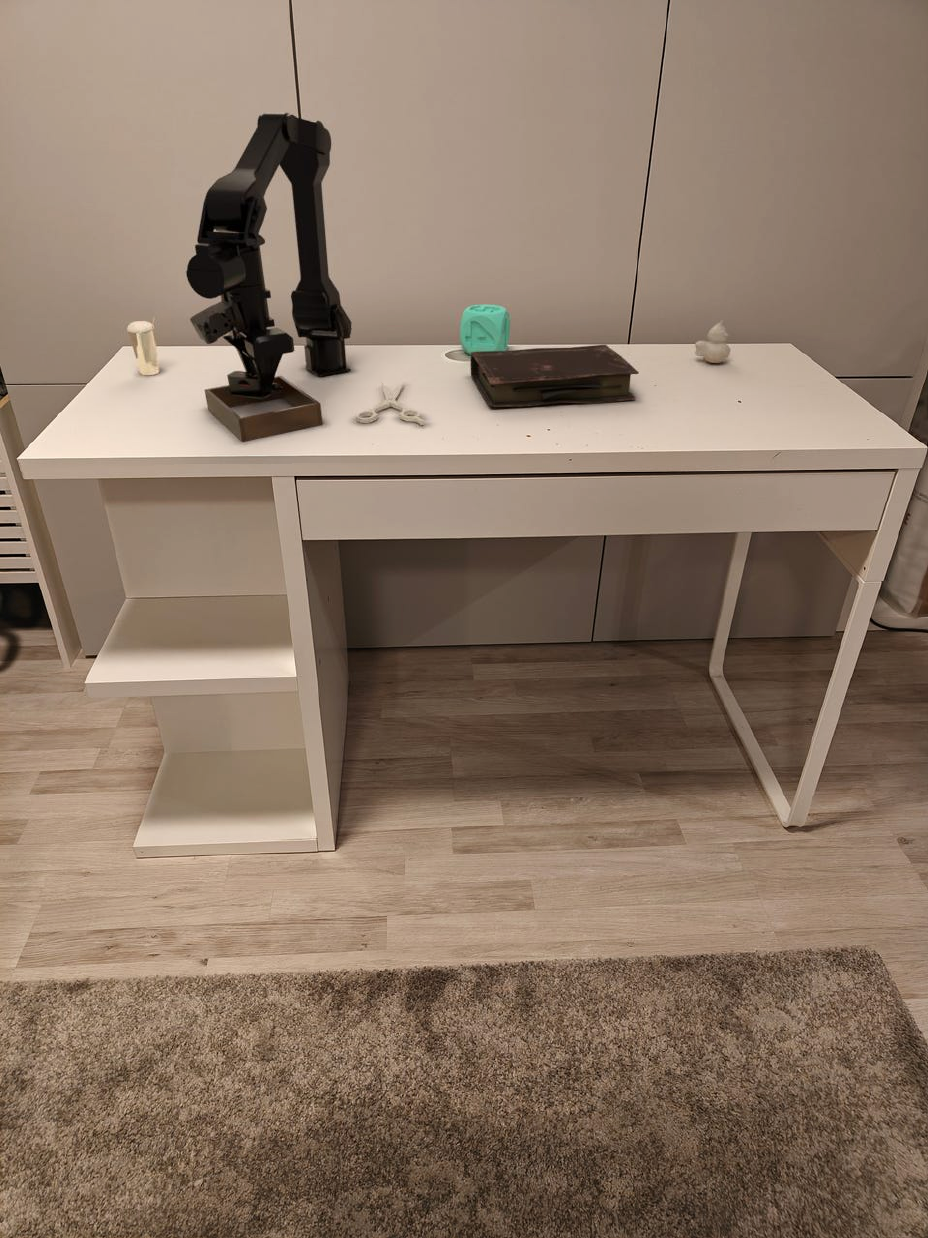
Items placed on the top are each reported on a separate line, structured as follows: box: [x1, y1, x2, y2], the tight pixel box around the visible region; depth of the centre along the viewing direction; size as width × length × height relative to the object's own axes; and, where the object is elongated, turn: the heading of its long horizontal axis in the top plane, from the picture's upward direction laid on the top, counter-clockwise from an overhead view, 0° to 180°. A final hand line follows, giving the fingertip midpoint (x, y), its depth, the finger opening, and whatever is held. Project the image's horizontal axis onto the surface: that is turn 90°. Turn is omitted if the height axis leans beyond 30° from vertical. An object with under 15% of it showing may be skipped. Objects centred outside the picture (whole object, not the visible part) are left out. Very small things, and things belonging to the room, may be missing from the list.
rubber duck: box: [694, 318, 731, 364], centre depth 154 cm, size 5×7×8 cm
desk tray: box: [204, 375, 324, 443], centre depth 132 cm, size 13×16×4 cm
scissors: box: [356, 382, 425, 426], centre depth 137 cm, size 11×1×20 cm
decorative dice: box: [459, 304, 511, 356], centre depth 160 cm, size 8×8×8 cm
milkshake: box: [126, 317, 160, 376], centre depth 149 cm, size 4×5×10 cm
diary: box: [470, 344, 640, 408], centre depth 142 cm, size 19×25×5 cm
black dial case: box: [226, 370, 283, 399], centre depth 130 cm, size 5×7×3 cm, turn 70°
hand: (260, 387), depth 130 cm, fingers closed on black dial case, 5 cm apart
